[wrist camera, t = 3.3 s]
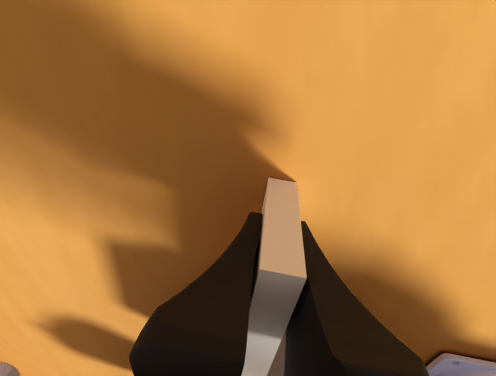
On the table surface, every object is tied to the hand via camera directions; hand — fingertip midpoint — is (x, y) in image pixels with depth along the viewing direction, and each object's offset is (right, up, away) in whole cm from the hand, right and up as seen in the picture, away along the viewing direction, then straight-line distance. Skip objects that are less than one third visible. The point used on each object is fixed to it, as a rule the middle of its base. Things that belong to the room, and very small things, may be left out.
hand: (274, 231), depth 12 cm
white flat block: (0, -2, +3) cm, 3 cm away
